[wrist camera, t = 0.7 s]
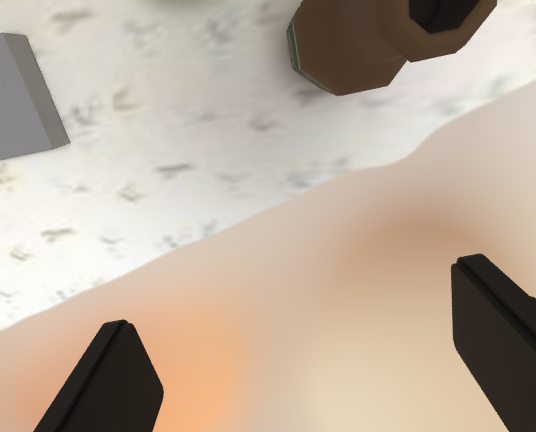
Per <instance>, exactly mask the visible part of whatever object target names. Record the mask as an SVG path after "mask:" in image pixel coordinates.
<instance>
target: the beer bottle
mask: <svg viewBox="0 0 536 432" xmlns="http://www.w3.org/2000/svg"><path fill="white" fill-rule="evenodd" d="M496 6H497V0H303V1H302V3H301V5H300V6H299V8H298V10H297V11H296V13H295V15H294V16H293V18H292V20H291V22H290V25H289V27H288V29H287V37H288V43H289V49H290V56H291V62H292V68H293V69H294V70H295V71H297V72H298V73H299V74H301V75H302V76H304V77H305V78H306V79H308V80H309V81H311V82H312V83H313V84H315V85H316V86H317V87H319V88H320V89H323V90H325V91H327V92H329V93H331V94H334V95H336V96H342V95H347V94H352V93H356V92H361V91H366V90H371V89H375V88H380V87H385V86H388V85H389V84H390V83H391V81H392V80H393V79H394V77H395V76H396V74H397V73H398V72H399V70H400V69H401V68H402V66H403V65H404V64H405V62H406V61H407V60H408V61H409V62H411V63H412V62H416V61H421V60H425V59H430V58H435V57H439V56H444V55H448V54H453V53H456V52H457V51H458V50H460V49H461V48H462V47H463V46H465V45H466V44H467V42H468V41H469V40H470V38H471V37H472V36H473V35H474V33H475V32H476V31H477V30H478V28H479V27H480V26H481V25H482V23H483V22H484V21H485V20H486V18H487V17H488V16H489V14H490V13H491V12H492V11H493V9H494V8H495V7H496Z"/></svg>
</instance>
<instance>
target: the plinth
mask: <svg viewBox="0 0 536 432" xmlns="http://www.w3.org/2000/svg"><path fill="white" fill-rule="evenodd" d="M68 143H70V141H69V139H68V136H67V134H66V131H65V129H64V127H63V124H62V122H61V119H60V117H59V115H58V112H57V110H56V107H55V105H54V103H53V100H52V98H51V95H50V93H49V91H48V88H47V86H46V83H45V81H44V79H43V76H42V74H41V71H40V69H39V67H38V64H37V62H36V59H35V57H34V55H33V52H32V50H31V47H30V45H29V43H28V40H27V38H26V36H24V35H16V34H8V33H0V160H4V159H9V158H13V157H18V156H23V155H28V154H33V153H37V152H42V151H47V150H52V149H55V148H58V147H61V146H63V145H66V144H68Z"/></svg>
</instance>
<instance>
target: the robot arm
mask: <svg viewBox="0 0 536 432" xmlns="http://www.w3.org/2000/svg"><path fill="white" fill-rule="evenodd" d="M451 283H452V284H451V286H452V319H453V341H454V345H455V348H456V350H457V351H458V353H459V355H460V357H461V358H462V360H463V361H464V363H465V364H466V366H467V367H468V369H469V370H470V372H471V374H472V375H473V377H474V378H475V380H476V381H477V383H478V384H479V386H480V387H481V389H482V391H483V392H484V394H485V395H486V397H487V398H488V400H489V401H490V403H491V404H492V406H493V407H494V409H495V411H496V412H497V414H498V415H499V417H500V418H501V420H502V421H503V423H504V425H505V426H506V427H507V429H508V431H509V432H536V298H534V297H531V296H529V295H528V294H527V293H525V292H524V291H523V290H522V289H521V288H520V287H519V286H518V285H517V284H515V283H514V282H513V281H512V280H511V279H510V278H509V277H508V276H506V275H505V274H504V273H503V272H502V271H501V270H500V269H499V268H498V267H497V266H495V265H494V264H493V263H492V262H491V261H490V260H489V259H488V258H487V257H485V256H484V255H483V254H475V255H469V256H464V257H459V258H458V259H457V263H456V264H452V266H451ZM163 394H164V391H163V386H162V384H161V382H160V380H159V378H158V375H157V373H156V371H155V369H154V367H153V365H152V363H151V361H150V358H149V356H148V354H147V352H146V350H145V348H144V346H143V344H142V341H141V339H140V337H139V335H138V333H137V331H136V329H135V327H134V325H133V324H131V323H128V322H127V321H126V320H118V321H112V322H107V323H104V324H103V325H102V327H101V328H100V330H99V331H98V333H97V334H96V336H95V337H94V339H93V340H92V342H91V343H90V345H89V347H88V348H87V350H86V351H85V353H84V354H83V356H82V357H81V359H80V360H79V362H78V364H77V365H76V367H75V368H74V370H73V371H72V373H71V375H70V376H69V377H68V379H67V380H66V382H65V384H64V385H63V387H62V388H61V390H60V391H59V393H58V394H57V396H56V397H55V399H54V401H53V402H52V404H51V405H50V407H49V408H48V410H47V411H46V413H45V414H44V416H43V418H42V419H41V420H40V422H39V424H38V425H37V427H36V428H35V430H34V431H33V432H152V431H153V428H154V425H155V422H156V419H157V416H158V413H159V410H160V407H161V404H162V401H163Z"/></svg>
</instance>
